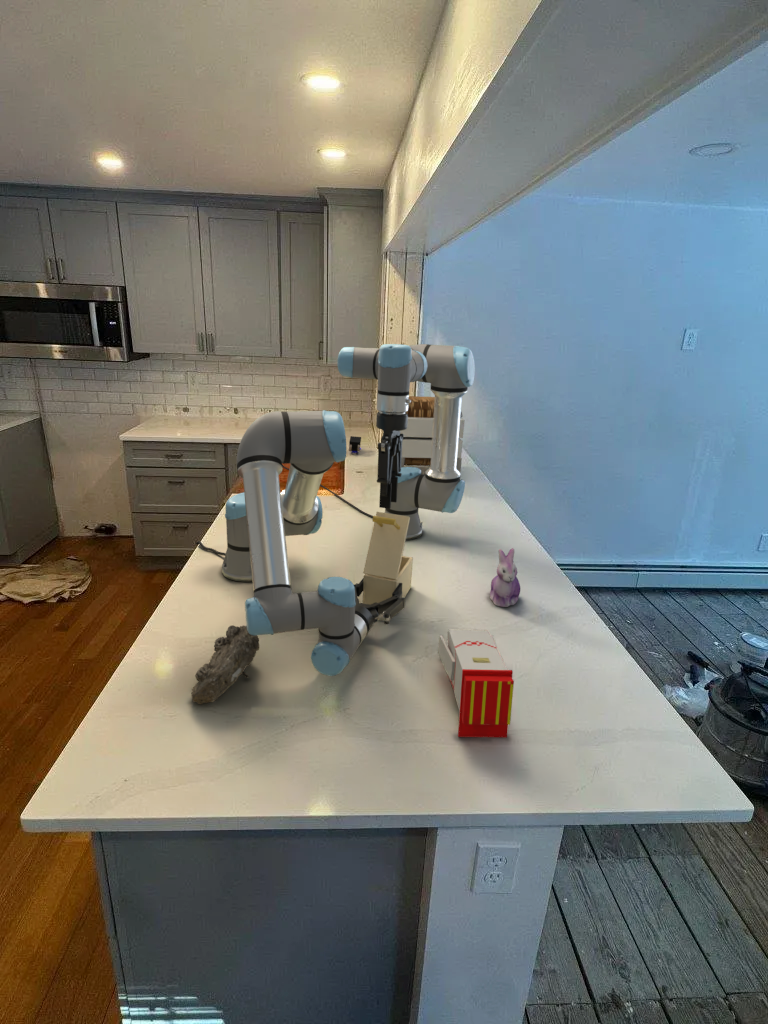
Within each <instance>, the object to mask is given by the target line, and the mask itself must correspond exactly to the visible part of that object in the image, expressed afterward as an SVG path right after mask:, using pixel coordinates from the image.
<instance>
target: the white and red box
mask: <svg viewBox="0 0 768 1024" xmlns="http://www.w3.org/2000/svg"><path fill="white" fill-rule="evenodd" d="M446 640H447V643H446V641H445V639H444V636H443V635H442V634H439V637H438V646H437V656H438V657H439V659H440V661H441V663H442V666H443V668H444V670H445V672H446V674H447V677H448V679H449V681H450V684H451V687H452V690H453V693H454V697H455V701H456V705H457V708H458V711H459V714H458V715H459V716H458V730H457V731H458V732H457V737H458V738H508V731H509V726H510V725H511V717H512V707H513V697H514V696H513V695H514V684H515V680H514V679H513V673H514V671H513V670H512V669H508V667H507V665H506V662H505V661H504V659H503V658H502V655H501V653H500V651H499V649H498V647H497V643H496V639H495V637H494V635H493V634H491V632H490V631H489V629H467V628H466V629H465V628H463V629H461V628H460V629H459V628H448V630H447V639H446Z"/></svg>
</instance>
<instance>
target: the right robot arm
mask: <svg viewBox="0 0 768 1024" xmlns="http://www.w3.org/2000/svg"><path fill="white" fill-rule="evenodd" d="M336 365H337V370H338V372H339V374H340V375H341V376H342V377H345V378H350V379H353V378H354V379H367V380H368V379H369V380H377V391H376V392H377V393H376V410H377V411H378V412H377V413H376V419H375V420H376V421H375V426H376V428H377V429H379V430H381V431H382V435H381V437H380V442H378V443H377V449H378V450H377V454H378V455H377V477H376V483H378V484H379V502H378V503H379V506H378V507H379V508H381V509H384V513H389V514H395V515H402V516H408V517H410V521H409V526H408V530H407V535H406V540H405V541H410V540H415V539H418V538H420V537H421V536H422V535H423V523H424V522H423V521H421V518H420V515H419V509H422V510H429V511H433V512H439V513H442V514H443V513H447V514H453V513H456V512H457V511H458V509H459V508H460V505H461V502H462V500H463V496H464V493H465V489H466V481H465V480H463V479H461V474H460V472H459V471H458V470H457V469H456V465H457V453H458V440H459V428H460V416H461V412H462V403H463V396H464V395H466V394H467V393H468V388H470V387H472V386H473V384H474V383H475V374H476V366H475V365H476V364H475V358H474V354H473V352H472V350H471V348H469V347H466V346H461V345H460V346H459V345H446V344H445V345H444V344H443V345H442V344H426V343H419V344H410V345H408V344H402V343H401V344H400V343H384V344H381V345H380V347H379V348H377V347H376V348H375V347H356V346H344V347H342V348H341V349H340V350H339V352H338V355H337V364H336ZM415 382H420V383H425V384H430V391H431V393H432V394H433V395H434V397H435V401H434V417H433V434H432V450H431V465H430V466H429V468H427V469H426V470H425V474H424V473H422V469H421V468H419V467H417V466H404V467H402V468H401V458H402V442H403V436H404V435H403V434H401V433H400V431H402V430H405V429H407V425H408V414H407V413H405V412H407V411H408V403H411V400H410V399H409V396H410V389H411V387H410V385H411V383H415ZM282 469H285V470H287V471H289V469H290V467H289V468H288V467H286V466H285V465H284V464H282ZM320 487H321V488H323V489H324V490H326V491H327V492H329V493H330V494H332V495H334V496H335V497H336V498H338V499H339V500H340V501H342V502H345V503H346V504H347V505H349V506H350V507H352V508H353V509H355V510H356V511H358V512H360V513H361V514H363V515H365V516H367V517H370V518H371V519H373V516H374V515H372V514H369V513H368V512H365V511H363V510H362V509H360V508H359V507H357V506H356V505H354V504H353V503H351V502H349V501H347V500H346V499H344V498H343V497H342V496H339V494H337V493H335V492H334V491H332V490H331V489H329V488H327V487H326V486H324V485H322V483H321V484H320Z"/></svg>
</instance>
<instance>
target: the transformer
mask: <svg viewBox="0 0 768 1024" xmlns="http://www.w3.org/2000/svg"><path fill="white" fill-rule="evenodd" d="M409 399H410V400H411V403H408V411H407V412H405V413H407V414H408V425H407V429H405V430H402V431H400V433H401V434H403V435H404V436H403V442H402V458H401V468H402V467H405V466H406V467H417V466H418V467H430V466H431V450H432V434H433V417H434V401H435V396H415V395H414V396H413V395H412V396H411V395H409ZM464 429H465V419H464V418H463V411H461V416H460V428H459V440H458V453H457V465H456V469H457V470H458V471H459V472H460V475H461V472H462V461H463V460H462V453H463V442H464V441H463V440H462V439H463V438H464V431H465V430H464Z"/></svg>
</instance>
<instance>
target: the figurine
mask: <svg viewBox="0 0 768 1024" xmlns="http://www.w3.org/2000/svg"><path fill="white" fill-rule="evenodd" d="M514 558H515V548H514V547H512V548H511V549H509V551H508V553H507V555H506V554H505V551H503V549H501V548H499V549H498V565H497V568H496V574H497V575H495V576H494V577H493V578H492V579H491V582H490V591H489V599H490V600H491V601H492V602H493V604H494V605H495V606H497V607H503V608H507V607H510V606H514V605H516V603H518V601H519V597H520V594H521V584H520V581H519V579H518V577H517V576H518V569H517V567H516V564H515V561H514Z"/></svg>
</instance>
